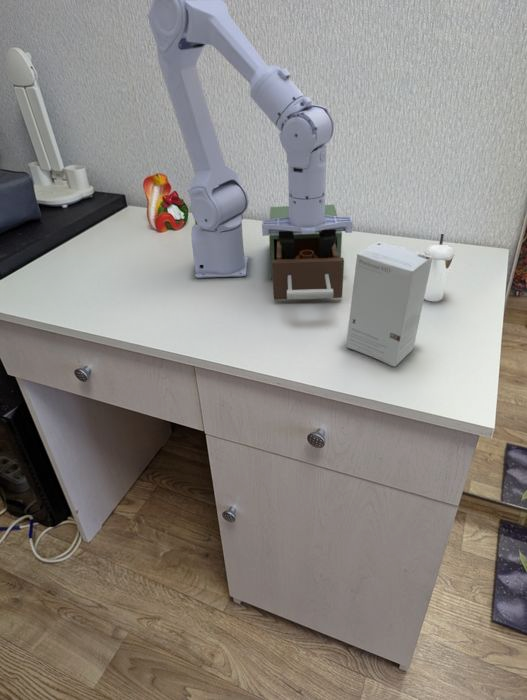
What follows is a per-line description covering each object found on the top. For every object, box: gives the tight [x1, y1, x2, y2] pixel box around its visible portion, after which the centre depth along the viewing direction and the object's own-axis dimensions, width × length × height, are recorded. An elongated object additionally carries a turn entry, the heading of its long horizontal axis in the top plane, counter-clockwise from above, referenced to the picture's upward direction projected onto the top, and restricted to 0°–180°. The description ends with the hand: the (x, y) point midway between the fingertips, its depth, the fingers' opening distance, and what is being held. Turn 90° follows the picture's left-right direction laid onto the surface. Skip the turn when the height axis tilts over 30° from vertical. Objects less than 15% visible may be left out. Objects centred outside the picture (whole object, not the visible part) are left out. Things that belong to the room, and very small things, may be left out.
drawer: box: [272, 238, 345, 301], centre depth 83 cm, size 20×11×7 cm, turn 179°
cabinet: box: [268, 204, 343, 281], centre depth 94 cm, size 15×13×9 cm
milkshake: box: [424, 232, 456, 303], centre depth 80 cm, size 4×5×10 cm
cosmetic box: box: [346, 240, 432, 367], centre depth 67 cm, size 8×6×15 cm
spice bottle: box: [295, 250, 319, 259], centre depth 84 cm, size 4×4×5 cm
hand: (306, 272), depth 85 cm, fingers closed on spice bottle, 4 cm apart
